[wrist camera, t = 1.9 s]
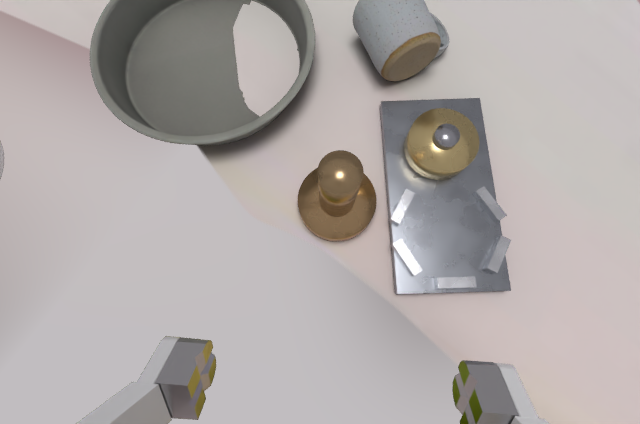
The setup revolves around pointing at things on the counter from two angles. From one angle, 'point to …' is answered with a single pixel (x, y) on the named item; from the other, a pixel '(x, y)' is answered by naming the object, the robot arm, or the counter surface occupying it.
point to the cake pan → (185, 67)
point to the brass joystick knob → (337, 198)
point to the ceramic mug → (399, 36)
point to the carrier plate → (441, 198)
